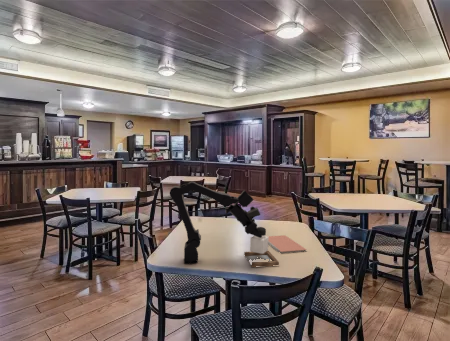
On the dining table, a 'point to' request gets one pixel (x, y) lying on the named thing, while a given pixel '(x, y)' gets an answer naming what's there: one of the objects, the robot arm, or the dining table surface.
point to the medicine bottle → (259, 242)
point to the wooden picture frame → (263, 256)
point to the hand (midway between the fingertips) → (260, 235)
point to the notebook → (284, 244)
